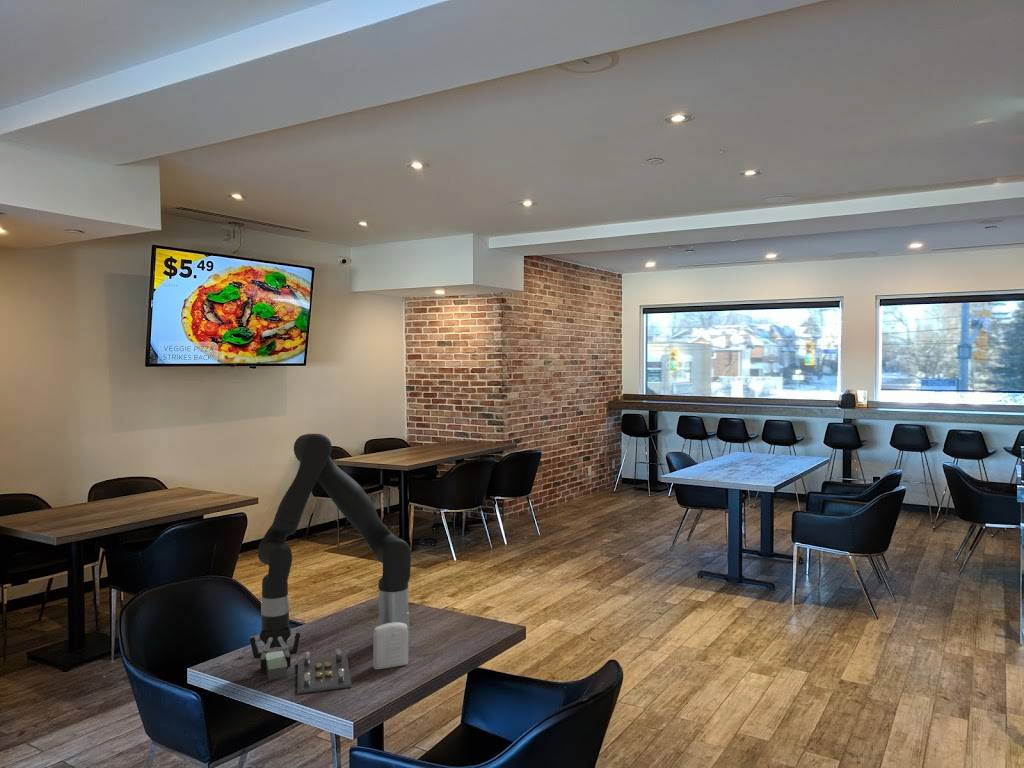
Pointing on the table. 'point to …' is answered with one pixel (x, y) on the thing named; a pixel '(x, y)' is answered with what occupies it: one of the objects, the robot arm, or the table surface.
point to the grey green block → (276, 665)
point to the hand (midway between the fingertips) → (275, 669)
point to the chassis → (323, 673)
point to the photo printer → (390, 645)
